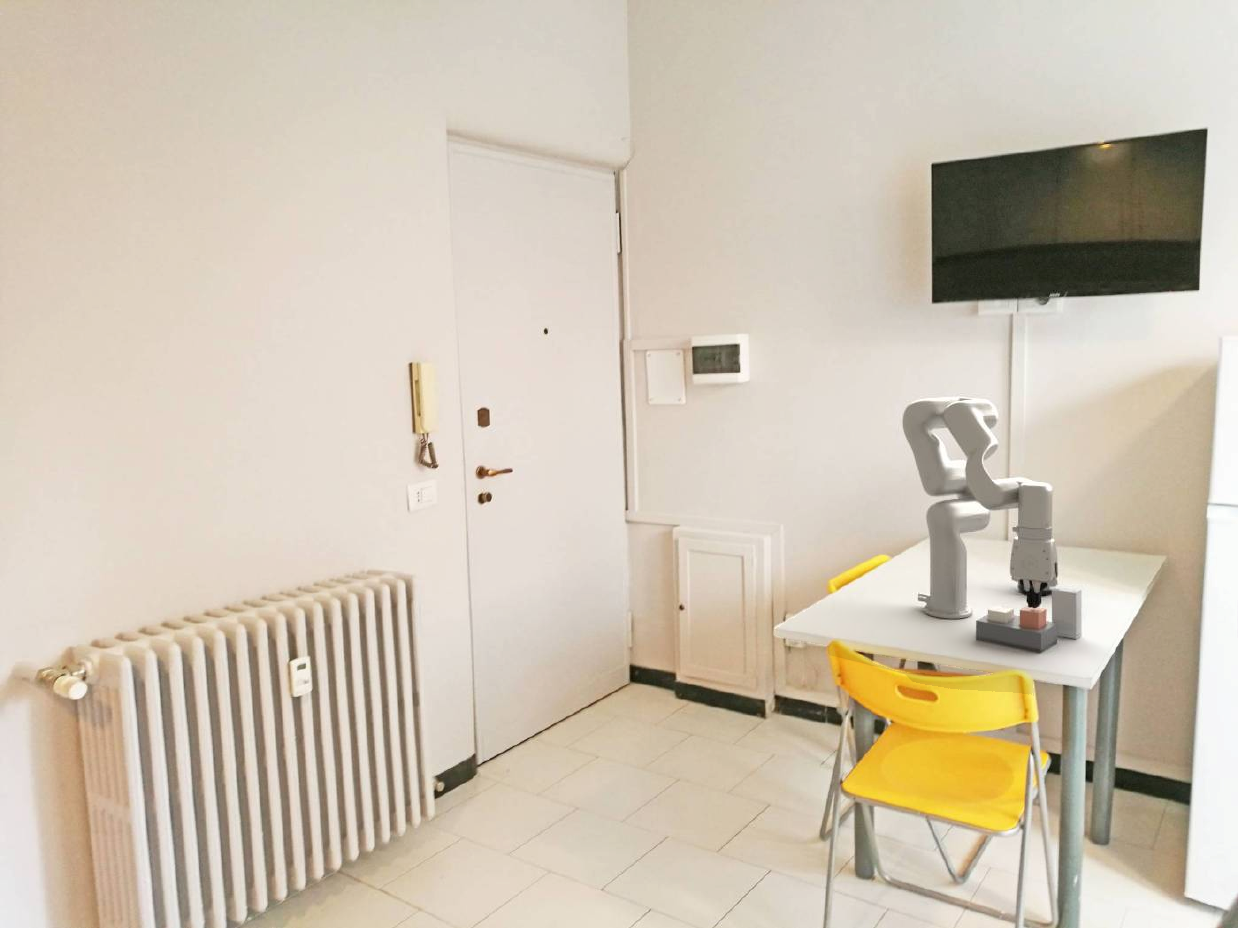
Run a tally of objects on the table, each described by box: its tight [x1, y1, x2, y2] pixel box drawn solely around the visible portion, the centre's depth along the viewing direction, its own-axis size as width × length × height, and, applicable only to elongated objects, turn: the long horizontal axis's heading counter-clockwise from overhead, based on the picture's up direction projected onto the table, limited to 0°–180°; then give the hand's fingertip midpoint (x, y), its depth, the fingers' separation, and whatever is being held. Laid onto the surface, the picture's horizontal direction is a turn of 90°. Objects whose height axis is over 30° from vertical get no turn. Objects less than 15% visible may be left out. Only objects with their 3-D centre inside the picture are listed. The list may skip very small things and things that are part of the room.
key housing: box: [975, 614, 1058, 654], centre depth 229 cm, size 16×10×5 cm, turn 44°
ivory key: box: [987, 605, 1015, 623], centre depth 231 cm, size 5×5×4 cm
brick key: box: [1019, 605, 1047, 630], centre depth 225 cm, size 5×5×4 cm
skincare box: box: [1051, 585, 1083, 640], centre depth 231 cm, size 6×4×12 cm
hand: (1033, 606), depth 225 cm, fingers closed
